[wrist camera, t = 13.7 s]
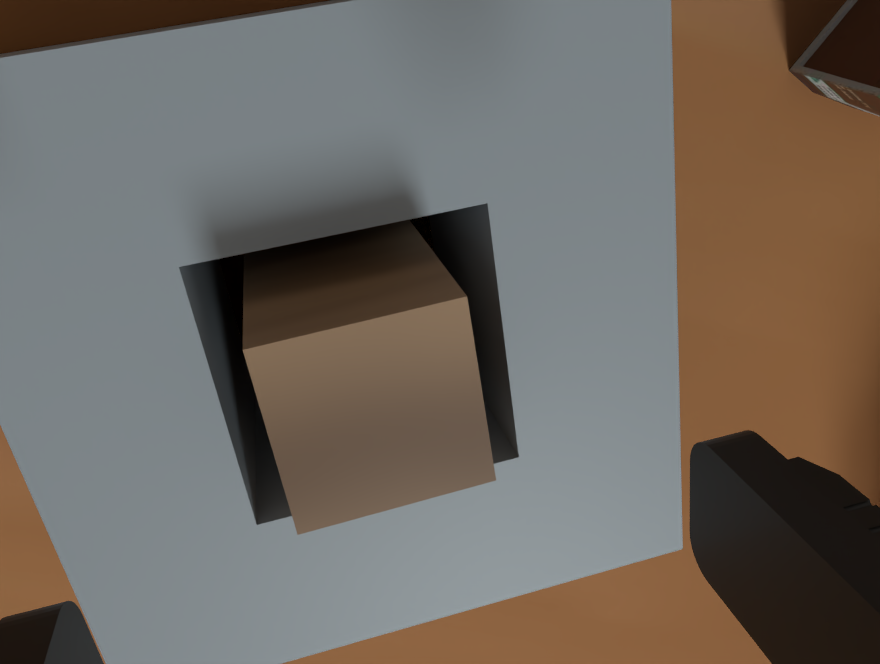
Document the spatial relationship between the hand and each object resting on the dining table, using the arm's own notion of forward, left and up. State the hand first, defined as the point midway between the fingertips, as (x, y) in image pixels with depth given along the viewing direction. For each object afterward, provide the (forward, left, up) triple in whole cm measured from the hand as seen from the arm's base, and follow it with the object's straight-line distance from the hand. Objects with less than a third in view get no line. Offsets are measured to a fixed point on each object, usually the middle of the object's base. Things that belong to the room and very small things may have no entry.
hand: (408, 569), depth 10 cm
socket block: (0, 0, -14) cm, 14 cm away
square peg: (0, 0, -14) cm, 14 cm away
